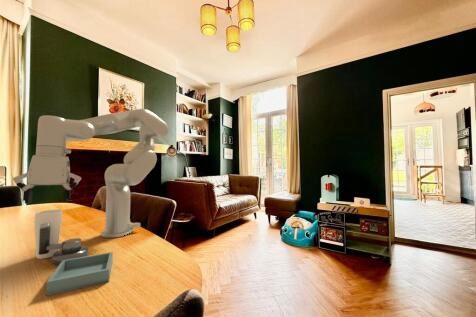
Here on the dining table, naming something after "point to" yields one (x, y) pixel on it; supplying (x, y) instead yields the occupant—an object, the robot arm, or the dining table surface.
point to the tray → (80, 273)
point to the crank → (65, 246)
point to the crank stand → (69, 255)
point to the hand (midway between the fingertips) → (47, 201)
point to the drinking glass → (55, 227)
